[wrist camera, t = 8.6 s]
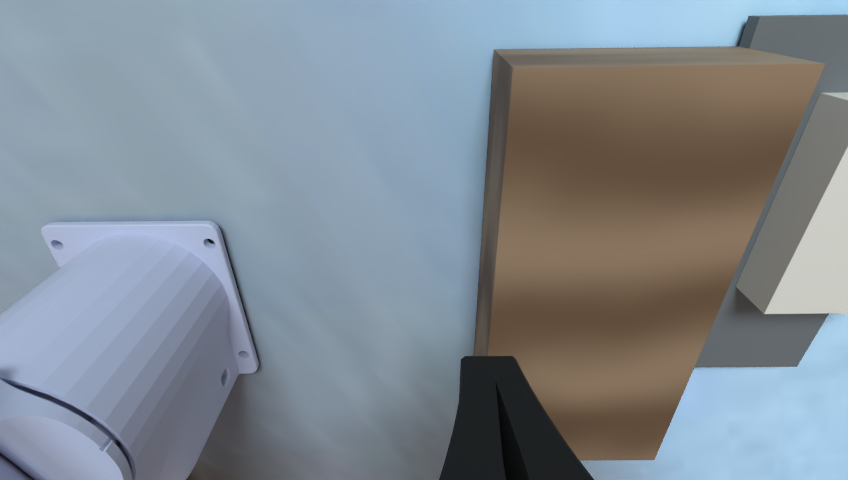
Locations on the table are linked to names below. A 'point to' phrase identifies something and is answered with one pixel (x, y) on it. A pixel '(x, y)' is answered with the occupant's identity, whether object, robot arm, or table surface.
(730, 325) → the mat
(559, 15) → the table surface
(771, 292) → the cream foam block
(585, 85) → the brown wooden block
